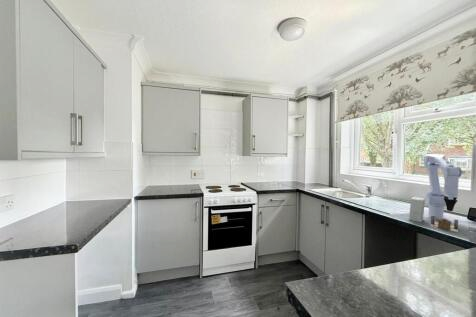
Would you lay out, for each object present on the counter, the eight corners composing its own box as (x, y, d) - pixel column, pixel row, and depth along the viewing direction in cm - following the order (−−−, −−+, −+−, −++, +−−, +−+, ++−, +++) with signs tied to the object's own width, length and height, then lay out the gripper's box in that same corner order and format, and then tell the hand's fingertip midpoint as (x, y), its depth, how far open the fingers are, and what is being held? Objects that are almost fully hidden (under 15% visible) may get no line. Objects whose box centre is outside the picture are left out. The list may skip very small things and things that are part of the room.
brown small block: (437, 225, 120) (438, 218, 120) (450, 228, 116) (450, 220, 116) (437, 227, 116) (438, 220, 116) (450, 230, 113) (450, 222, 113)
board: (431, 221, 130) (431, 220, 130) (457, 226, 122) (457, 225, 122) (430, 227, 119) (430, 226, 119) (458, 233, 111) (458, 232, 111)
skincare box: (411, 218, 136) (413, 196, 135) (423, 220, 131) (425, 198, 131) (408, 220, 131) (410, 198, 130) (421, 223, 126) (422, 200, 125)
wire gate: (431, 222, 125) (431, 215, 125) (457, 228, 117) (458, 219, 117) (430, 224, 123) (431, 216, 123) (457, 229, 115) (458, 221, 115)
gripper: (441, 184, 128) (440, 206, 129) (441, 187, 118) (440, 210, 119) (458, 186, 123) (456, 208, 124) (459, 189, 113) (457, 213, 114)
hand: (449, 209), depth 121 cm, fingers open, 7 cm apart
